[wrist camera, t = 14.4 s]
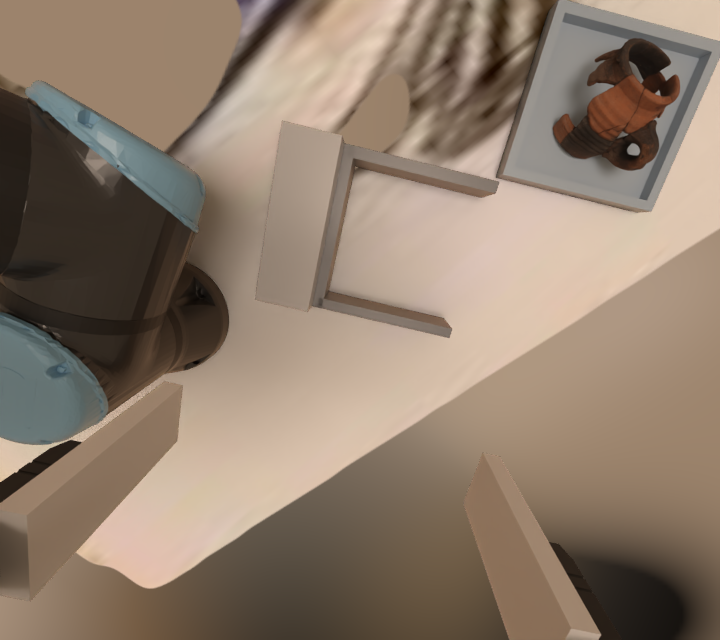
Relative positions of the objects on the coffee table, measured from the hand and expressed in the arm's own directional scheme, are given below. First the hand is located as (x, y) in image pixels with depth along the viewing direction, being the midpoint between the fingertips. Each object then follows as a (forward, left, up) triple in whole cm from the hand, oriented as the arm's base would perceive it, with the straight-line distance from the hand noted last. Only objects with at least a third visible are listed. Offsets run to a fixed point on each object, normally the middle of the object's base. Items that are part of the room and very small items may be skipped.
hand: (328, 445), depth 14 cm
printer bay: (0, +8, -32) cm, 33 cm away
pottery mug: (+22, +26, -31) cm, 46 cm away
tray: (+22, +27, -32) cm, 47 cm away
